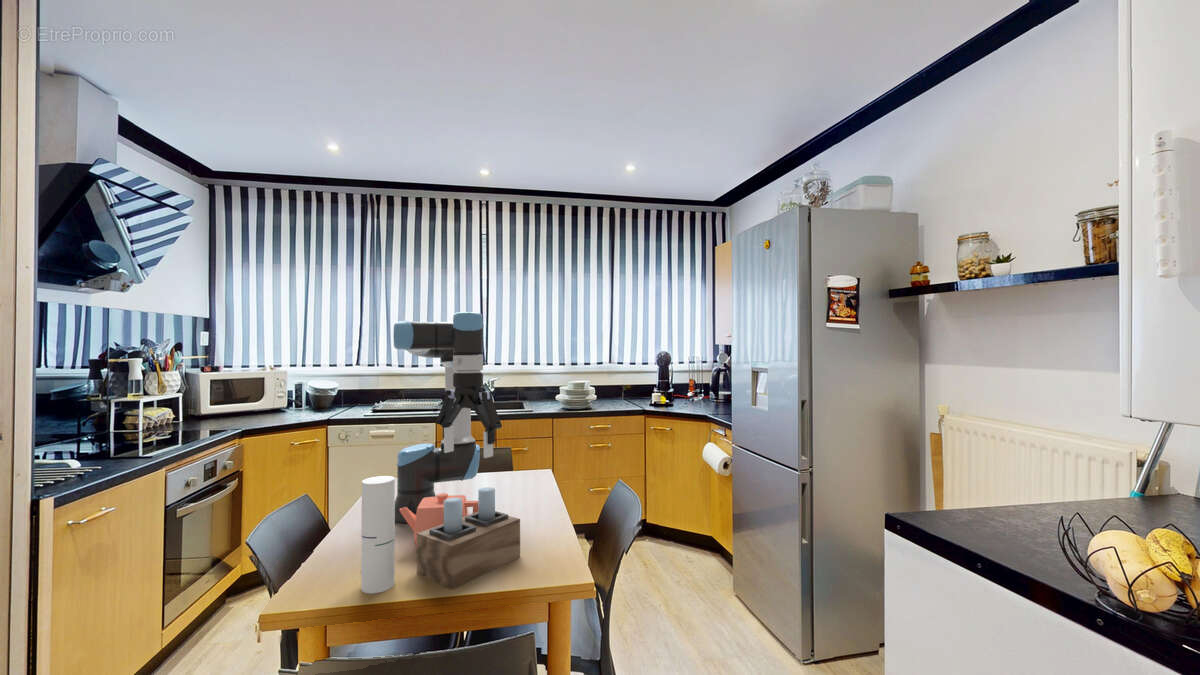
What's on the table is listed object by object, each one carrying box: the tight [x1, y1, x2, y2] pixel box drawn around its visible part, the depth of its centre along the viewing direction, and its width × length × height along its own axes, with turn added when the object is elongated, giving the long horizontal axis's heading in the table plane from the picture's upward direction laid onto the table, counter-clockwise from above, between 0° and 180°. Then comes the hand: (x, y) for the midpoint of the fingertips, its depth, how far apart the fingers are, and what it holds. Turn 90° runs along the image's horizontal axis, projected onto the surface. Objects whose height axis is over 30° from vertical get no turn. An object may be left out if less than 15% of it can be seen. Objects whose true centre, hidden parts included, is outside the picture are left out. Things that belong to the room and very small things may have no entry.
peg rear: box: [477, 487, 496, 521], centre depth 131 cm, size 4×4×9 cm
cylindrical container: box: [360, 475, 396, 595], centre depth 115 cm, size 7×7×25 cm
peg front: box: [444, 498, 462, 535], centre depth 122 cm, size 4×4×9 cm
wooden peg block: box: [416, 510, 521, 590], centre depth 126 cm, size 14×22×11 cm, turn 144°
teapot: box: [400, 492, 478, 548], centre depth 140 cm, size 22×13×14 cm, turn 101°
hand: (468, 454), depth 125 cm, fingers open, 13 cm apart
